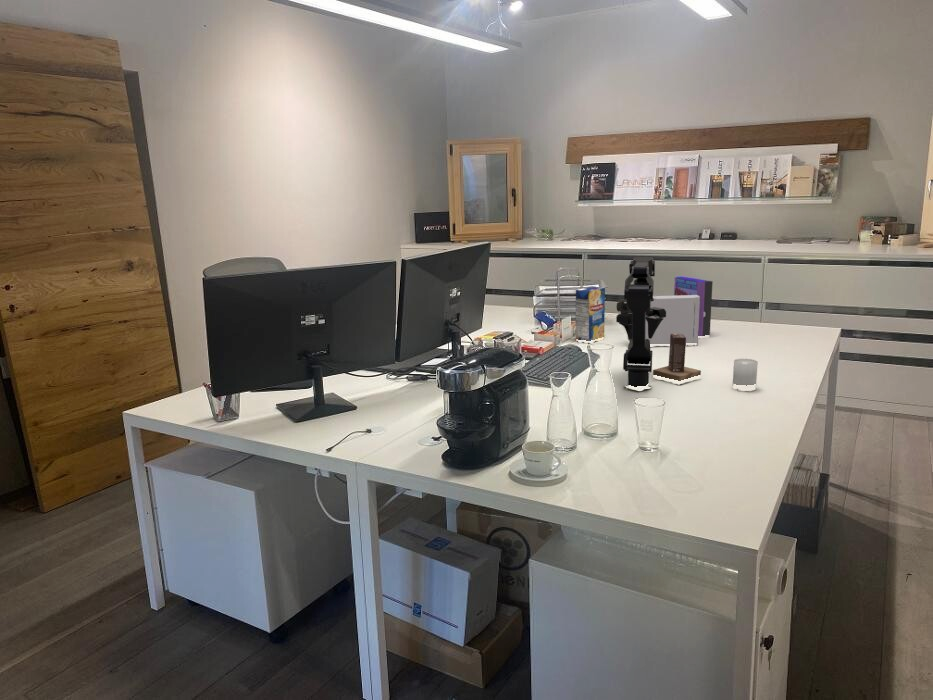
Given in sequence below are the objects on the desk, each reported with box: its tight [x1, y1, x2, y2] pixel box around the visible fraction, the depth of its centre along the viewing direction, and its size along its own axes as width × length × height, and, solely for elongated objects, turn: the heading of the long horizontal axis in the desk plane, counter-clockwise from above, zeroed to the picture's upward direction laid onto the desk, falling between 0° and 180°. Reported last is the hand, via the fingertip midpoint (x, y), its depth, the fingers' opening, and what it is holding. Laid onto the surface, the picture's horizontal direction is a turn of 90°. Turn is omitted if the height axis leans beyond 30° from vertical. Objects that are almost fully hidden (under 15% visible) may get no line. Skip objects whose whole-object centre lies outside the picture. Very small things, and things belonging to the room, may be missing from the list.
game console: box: [627, 295, 700, 344], centre depth 283 cm, size 6×27×20 cm, turn 89°
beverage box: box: [575, 286, 606, 341], centre depth 295 cm, size 7×11×22 cm, turn 135°
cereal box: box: [673, 276, 714, 336], centre depth 300 cm, size 17×5×24 cm, turn 25°
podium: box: [652, 365, 702, 381], centre depth 239 cm, size 11×11×3 cm
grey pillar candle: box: [732, 358, 759, 386], centre depth 225 cm, size 7×7×9 cm
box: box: [667, 334, 687, 373], centre depth 237 cm, size 6×4×12 cm
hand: (640, 340), depth 239 cm, fingers open, 9 cm apart
